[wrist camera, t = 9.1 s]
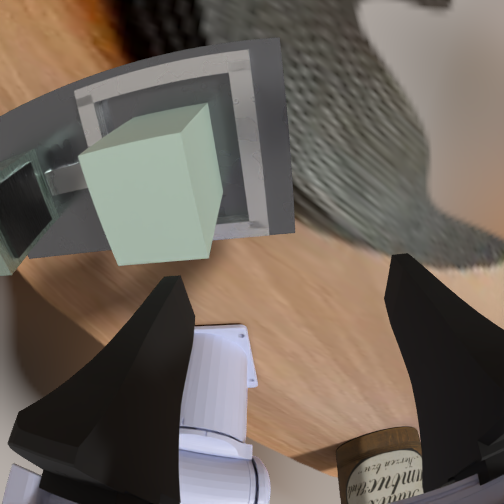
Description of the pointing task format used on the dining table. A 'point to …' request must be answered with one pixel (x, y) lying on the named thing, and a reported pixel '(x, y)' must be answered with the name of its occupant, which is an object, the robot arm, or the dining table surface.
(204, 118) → the block
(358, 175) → the dining table surface
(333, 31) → the dining table surface
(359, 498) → the wooden container
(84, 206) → the rail
